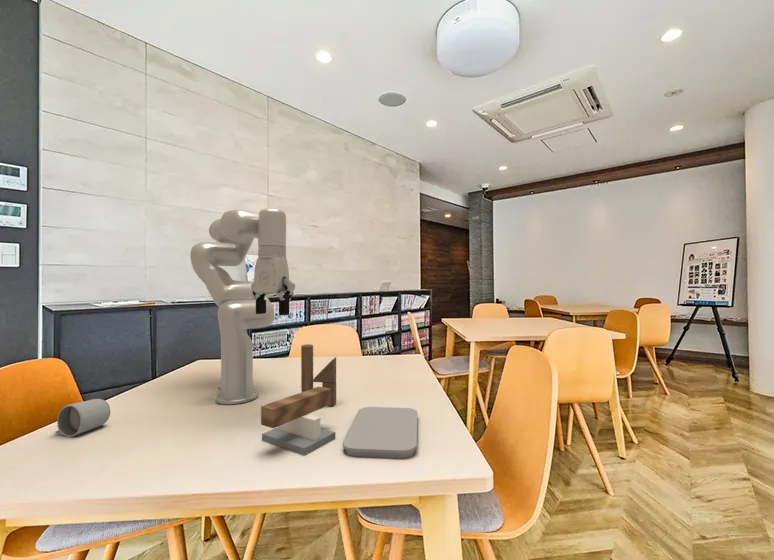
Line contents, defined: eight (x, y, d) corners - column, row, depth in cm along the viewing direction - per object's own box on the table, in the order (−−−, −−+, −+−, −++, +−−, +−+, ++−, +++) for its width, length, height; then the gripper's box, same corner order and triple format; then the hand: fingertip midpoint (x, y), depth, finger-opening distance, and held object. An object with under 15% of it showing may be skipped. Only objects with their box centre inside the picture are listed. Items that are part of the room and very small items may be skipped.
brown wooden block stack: (333, 406, 107) (333, 346, 108) (298, 405, 109) (298, 346, 109) (336, 402, 111) (336, 344, 111) (303, 401, 112) (303, 344, 113)
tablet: (339, 458, 76) (339, 447, 76) (360, 414, 102) (360, 406, 102) (416, 462, 74) (416, 451, 74) (417, 416, 100) (417, 408, 100)
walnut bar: (273, 428, 76) (273, 409, 76) (261, 424, 78) (261, 406, 78) (330, 404, 91) (330, 388, 91) (318, 401, 93) (318, 386, 93)
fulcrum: (261, 440, 84) (261, 414, 84) (294, 426, 93) (294, 402, 93) (304, 455, 77) (304, 427, 77) (335, 438, 85) (335, 413, 85)
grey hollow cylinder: (113, 425, 94) (113, 395, 94) (80, 438, 86) (80, 406, 86) (80, 423, 96) (80, 394, 96) (45, 435, 88) (45, 404, 88)
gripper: (241, 254, 102) (241, 314, 102) (282, 250, 93) (282, 316, 93) (263, 255, 109) (263, 312, 109) (303, 252, 99) (304, 314, 99)
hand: (272, 314), depth 101 cm, fingers open, 9 cm apart
